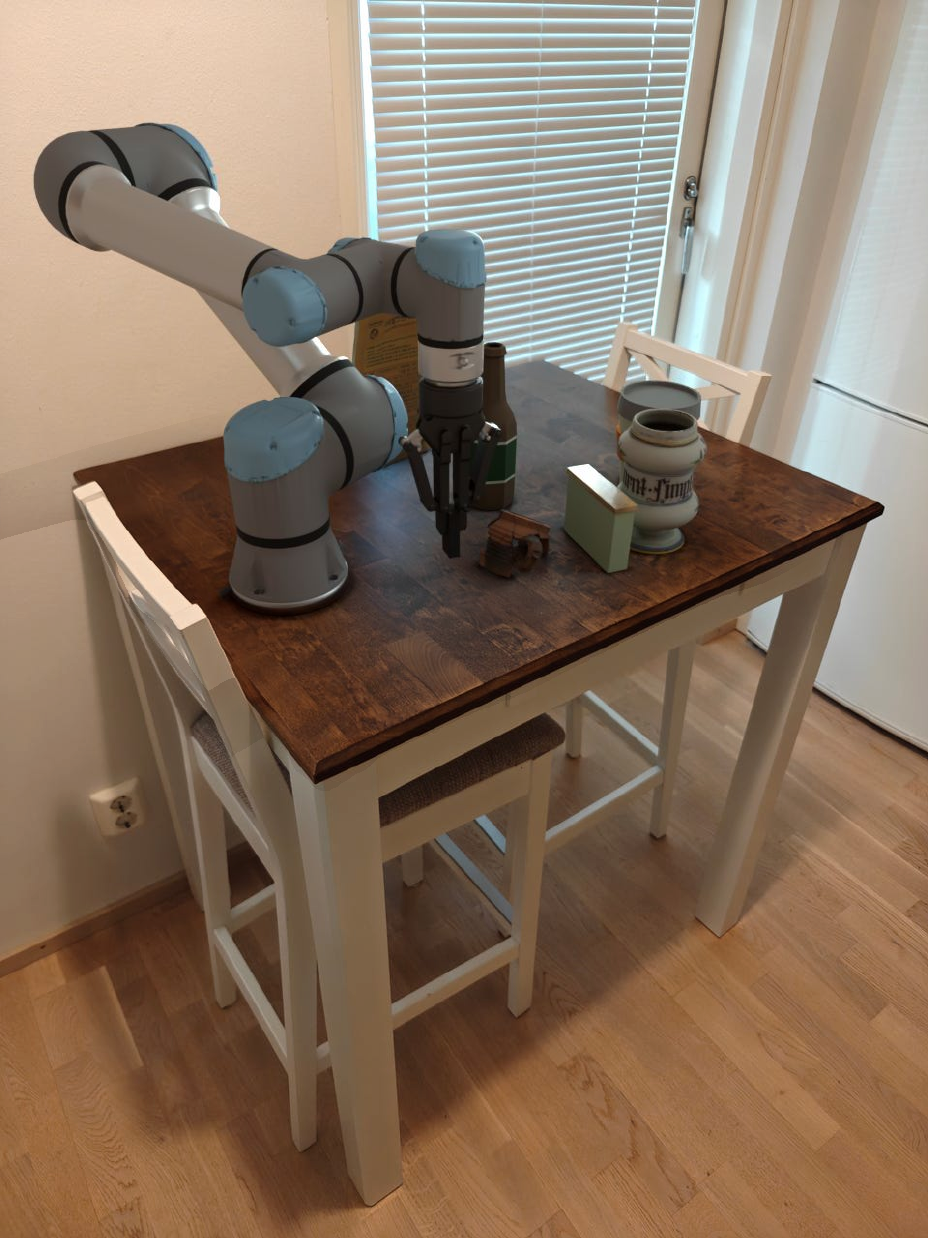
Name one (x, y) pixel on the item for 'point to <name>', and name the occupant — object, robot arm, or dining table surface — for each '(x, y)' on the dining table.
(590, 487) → the back wall
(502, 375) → the beer bottle
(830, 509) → the dining table surface
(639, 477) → the apothecary jar
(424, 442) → the pancake mix bag
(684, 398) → the grey lidded canister
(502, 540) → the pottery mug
